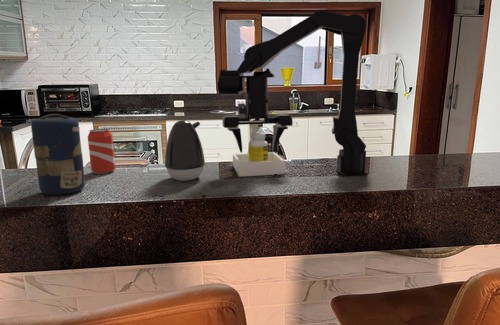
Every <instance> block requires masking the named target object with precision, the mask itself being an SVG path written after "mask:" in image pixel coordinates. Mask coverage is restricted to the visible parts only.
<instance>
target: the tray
mask: <svg viewBox="0 0 500 325" xmlns="http://www.w3.org/2000/svg"><path fill="white" fill-rule="evenodd" d="M232 167H233V168H234V170H235V172H236V174H237V176H238V177H255V176H270V175H271V176H272V175H273V176H274V174H277V175H286V160H285V159H284V158H282V157H281V156H280V155H278V154H277V153H276V152H275V151H271V152H268V161H261V162H249V153H233V154H232Z"/></svg>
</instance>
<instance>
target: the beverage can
mask: <svg viewBox="0 0 500 325" xmlns="http://www.w3.org/2000/svg"><path fill="white" fill-rule="evenodd" d="M87 143H88V144H87V145H88V152H89V162H90V170H91V172H93V173H94V174H96V175H105V174H104V173H107V174H110V173H109V172H111V173H112V172H113V171H115V170H116V161H115V160H116V158H115V149H114V139H113V133H112V132H111V131H110V129H109V128H96V129H89V133H88V135H87Z"/></svg>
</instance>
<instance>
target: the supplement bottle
mask: <svg viewBox="0 0 500 325" xmlns="http://www.w3.org/2000/svg"><path fill="white" fill-rule="evenodd" d="M250 139H251V140H250V141H249V142H248V154H249V162H261V161H268V153H269V143H268V141H266V140H265V139H266V133H265V132H252V133H251V134H250Z"/></svg>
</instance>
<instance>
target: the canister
mask: <svg viewBox="0 0 500 325" xmlns="http://www.w3.org/2000/svg"><path fill="white" fill-rule="evenodd" d="M54 116H55V117H54ZM56 116H57V117H56ZM30 128H31V135H32V145H33V151H34V152H33V153H34V158H35V163H36V164H35V165H36V172H37V173H36V174H37V177H38V178H37V179H38V185H39V190H40V192H41V193H42V194H45V195H48V196H60V195H68V194H72V193H76V192H79V191H80V190H83V188H84V187H85V185H86V181H85V179H86V178H85V171H84V170H85V169H84V160H83V159H84V158H83V152H82V144H81V135H80V123H79V120H78V119H77V118H75V117H69V116H67V115H63V114H59V113H52V114H51V113H50V114H47V115H44V116H41V117H40V118H36V119H33V120H32V121H31V124H30Z"/></svg>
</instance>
